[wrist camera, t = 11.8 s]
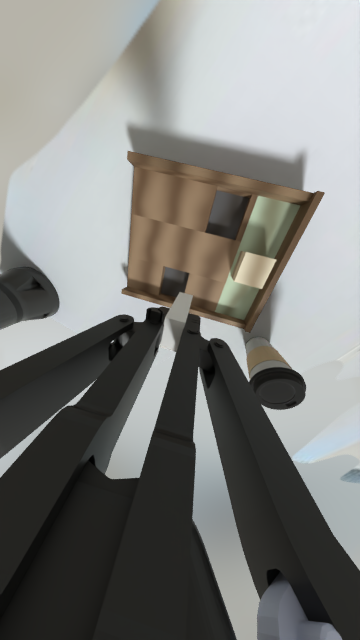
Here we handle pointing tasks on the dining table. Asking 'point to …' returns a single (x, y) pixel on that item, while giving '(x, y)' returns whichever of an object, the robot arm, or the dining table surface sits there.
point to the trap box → (209, 236)
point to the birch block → (252, 269)
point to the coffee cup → (273, 376)
